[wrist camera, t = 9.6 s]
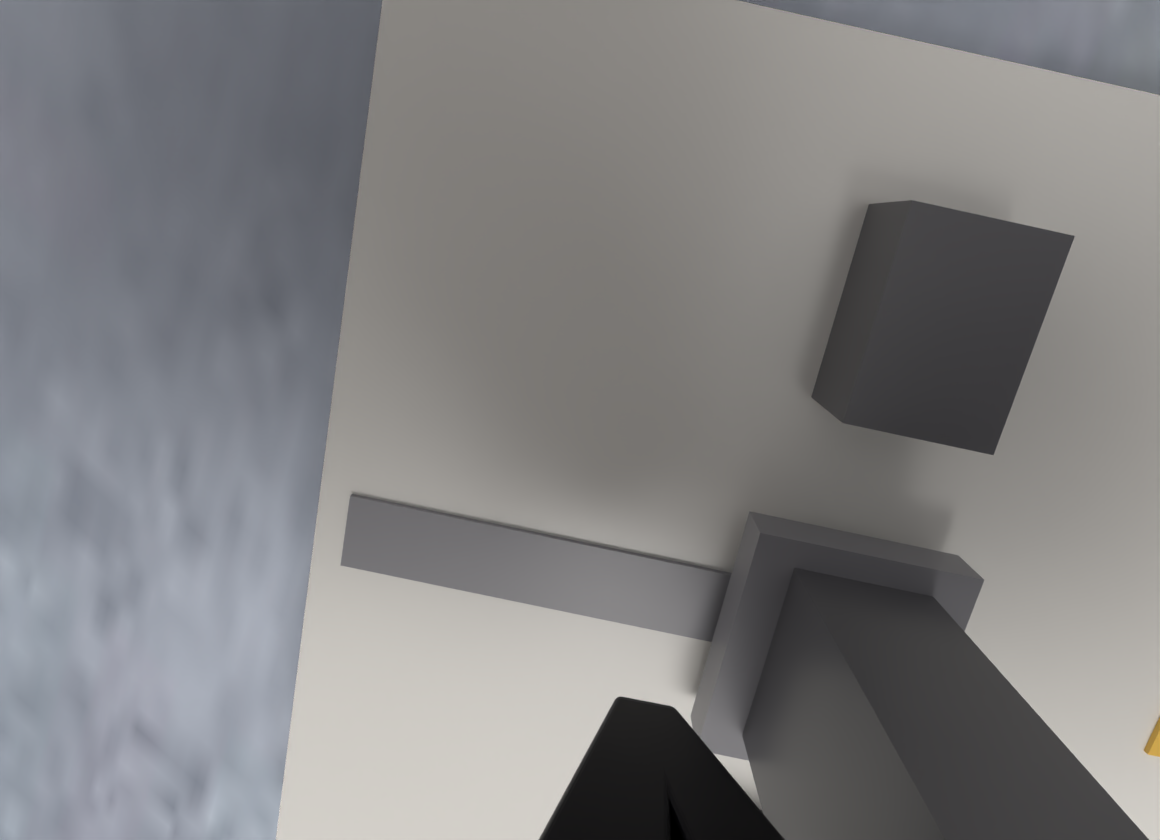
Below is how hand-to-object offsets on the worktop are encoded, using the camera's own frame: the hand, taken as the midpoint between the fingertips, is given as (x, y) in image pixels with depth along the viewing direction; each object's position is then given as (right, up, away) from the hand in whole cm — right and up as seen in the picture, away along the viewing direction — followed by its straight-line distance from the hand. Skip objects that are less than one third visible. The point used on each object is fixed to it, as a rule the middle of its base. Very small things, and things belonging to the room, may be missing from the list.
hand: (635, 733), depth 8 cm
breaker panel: (+4, +1, +6) cm, 7 cm away
